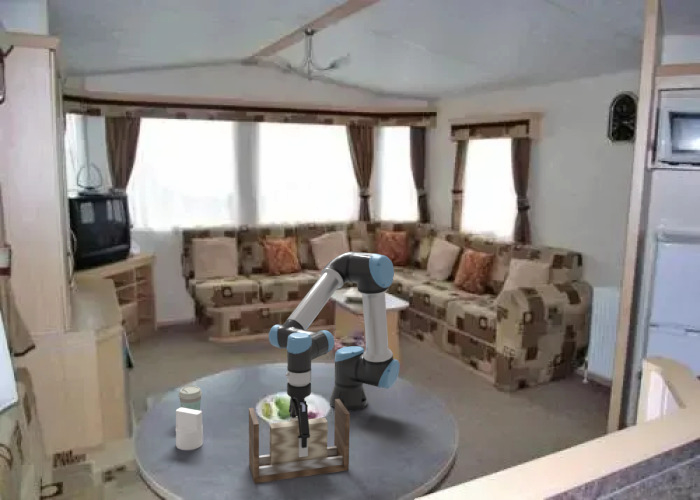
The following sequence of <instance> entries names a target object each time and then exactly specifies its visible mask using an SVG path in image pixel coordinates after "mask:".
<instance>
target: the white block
mask: <svg viewBox="0 0 700 500" xmlns="http://www.w3.org/2000/svg"><path fill="white" fill-rule="evenodd" d="M203 444H204V426H203V411H202V410H200V411H199V410H193V409H188V408H182V407H181V406H180V407H179V408H177V409H176V410H175V445H176V446H175V447H176V448H177V449H179V450H181V451H194V450H196V449H199V448H200V447H202V445H203Z"/></svg>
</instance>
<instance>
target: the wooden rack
mask: <svg viewBox="0 0 700 500" xmlns="http://www.w3.org/2000/svg"><path fill="white" fill-rule="evenodd" d="M350 418H351V414H350V411H348V410H347V409H346V408H345V406H344V405H343V403H342V402H341V401H340V399H335V408H334V435H333V436H334V437H333V438H334V440H333V441H334V442H333V443H334V444H333V446H327V458H320V459H312V460H305V461H297V462H290V463H282V464H275V465H270V453H269V454H263V455H260V423H259V420H258V417H257V414H256V411H255V408H254V407H248V464H249V468H250V473H251V475H252V480H253V484H260V483H268V482H275V481H281V480H290V479H297V478H301V477H309V476H317V475H322V474H323V475H325V474H332V473H339V472H344V471H345V472H346V471H349V470H350V428H351V425H350V422H351V419H350Z"/></svg>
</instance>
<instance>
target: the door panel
mask: <svg viewBox="0 0 700 500" xmlns="http://www.w3.org/2000/svg"><path fill="white" fill-rule="evenodd" d="M308 421H309V433H310V438H308V456H305V457H299V438H298V436H300V433H299V425H298V421H290V420H289V421H281V422H273V423H269V454H270V465H275V464H282V463H290V462H297V461H305V460H312V459H320V458H327V447H328V431H329V430H328V424H329V423H328V420H327V419H326V417H316V418H310V419H309V418H308Z"/></svg>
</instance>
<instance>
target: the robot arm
mask: <svg viewBox="0 0 700 500" xmlns="http://www.w3.org/2000/svg"><path fill="white" fill-rule="evenodd" d="M394 277H395V269H394V264H393V262H392V260H391V259H390V258H389V257H388V256H387V255H384V254H379V253H372V252H371V253H369V252H358V251H347V252H343V253H342V254H341V253H340V254H339V255H337V256H335V257H334V258H333V259H331V260H330V261H329V262H328V263H327V264H326V265H325V266H324V267H323V269H322V270H321V271H320V277H319V278H318V279H317V281H316V282H315V283H314V284H313V286H312V287H311V288H310V289H309V291H308V292H307V293H306V295H305V296H304V297H303V298H302V300H301V301H300V303H299V304H298V305H297V307H295V309H294V310H293V311H292V313H290V315H289V316H288V318H286V320H285V322H284V323H283V324H274V325H273V326H271V328H270V330H269V333H268V341H269V343H270V345H272V346H273V347H276V348H279V349H281V350H286V355H287V356H286V360H287V366H286V368H287V369H286V370H287V372H285V376H286V378H287V379H286V381H287V384H286V394H287V395H288V396H289V397H290V398H289V399H290V400H289V406H288V412H289V413H288V414H289V417H290V418H289V419H290V420H289V421H298V425H299V433H300V436H298V438H299V457H305V456H308V438H310V433H309V421H308V419H309V411H308V409H309V408H308V407H309V405H308V403H307V400H306V399H305V398H307V397H309V396H310V395H311V394H312V360H314V359H317V358H319V357H321V356H325V355H327V354H328V353H329V352H331V351H332V350H333V349H334V348H335V338H334V335H333V334H332V332H330V331H328V330H325V329H324V330H318V331H311V330H308V329H309V327H310V326H311V324H312V323H313V321H314V320H315V319H316V318H317V316H319V313H320V312H321V311H322V309H323V308H324V307H325V306H326V304H327V303H328V302H329V300H330V298H331V297H332V296H333V295H334V294H335V292H336V291H337V290H338V289H341V288H342V287H343V286H344V284H346V283H352V284H356V285H357V291H358V293H360V295H361V298H362V299H361V300H362V309H363V313H362V314H363V324H364V335H365V336H364V337H365V348H364V347H362V346H357V345H356V346H353V345H352V346H345V347H341V348H339V349H337V350H336V351H335V353H334V386H333V388H332V392H331V394H330V398H329V404H331V405H332V406H333V407H332V406H331V405H330V406H331V407H332V408H334V407H335V399H340V401H341V402H342V403H343V405H344V406H345V408H346V409H347V410H353V411H358V410H357V409H359V410H362V409H364V408H366V406H367V405H368V397H367V394H366V390H365V388H364V384H366V385H369V386H373V387H377V388H379V389H385V390H386V389H387V390H388V389H391V388H392V387H393V386H394V384H395V383H396V382H397V379H398V376H399V374H400V368H401V367H400V361H399V360H398V359H396V358H394V354H393V351H392V350H391V349H390V348H389V337H388V336H389V335H388V322H387V307H386V292H388V290H389V287H391V285H392V284H393V282H394ZM363 407H364V408H363ZM361 408H362V409H361Z"/></svg>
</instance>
